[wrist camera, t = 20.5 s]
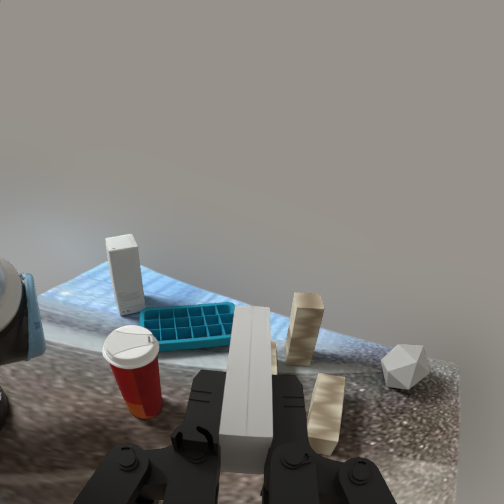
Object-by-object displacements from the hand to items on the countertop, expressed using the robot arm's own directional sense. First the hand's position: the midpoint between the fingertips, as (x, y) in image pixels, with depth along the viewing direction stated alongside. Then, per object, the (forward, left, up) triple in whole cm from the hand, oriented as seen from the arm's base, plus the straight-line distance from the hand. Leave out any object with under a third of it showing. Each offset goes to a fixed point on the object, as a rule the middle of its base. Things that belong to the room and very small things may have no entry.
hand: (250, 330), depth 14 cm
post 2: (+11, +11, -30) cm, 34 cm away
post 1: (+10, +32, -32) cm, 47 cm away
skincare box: (-27, +44, -32) cm, 61 cm away
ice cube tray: (-11, +37, -33) cm, 51 cm away
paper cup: (-15, +17, -32) cm, 40 cm away
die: (+29, +25, -32) cm, 50 cm away
